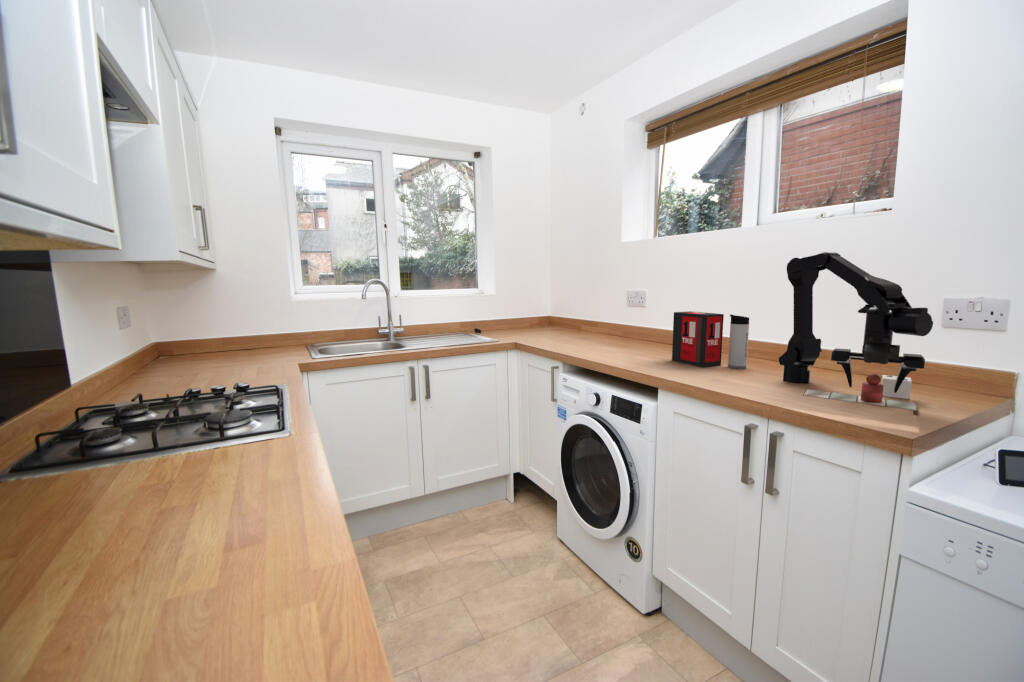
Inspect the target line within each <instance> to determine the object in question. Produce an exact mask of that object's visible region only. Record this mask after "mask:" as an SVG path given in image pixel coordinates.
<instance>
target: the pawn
mask: <svg viewBox="0 0 1024 682" xmlns="http://www.w3.org/2000/svg"><path fill="white" fill-rule="evenodd" d="M865 380H866V381H864V382H862V383H861V393H860V396H861V400H862V401H865V402H871V403H881V402H882V399H883V397H884V396H883V387H884V385H882V383H881V382H882V377H880V375H879V374H876V373H870V374H868V375H867V376H866V378H865Z"/></svg>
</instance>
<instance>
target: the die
mask: <svg viewBox="0 0 1024 682" xmlns="http://www.w3.org/2000/svg"><path fill="white" fill-rule="evenodd" d="M897 376H898V375H887V374H882V375H881V384H882V385H884V387H883V396H882V397H889V398H896V399H897V398H898V399H903V400H910V399H911V391H912V385H913V381H912V377H910V376H909V377H908V376H906V377H905V379H904V380H903V382H902V384H901V385H900V387H899V389H898V391H897V392H896V393H894V387H895V383H896V379H897Z"/></svg>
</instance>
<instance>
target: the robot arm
mask: <svg viewBox="0 0 1024 682" xmlns="http://www.w3.org/2000/svg"><path fill="white" fill-rule="evenodd" d="M824 270H828V271H830V272H831V273H833V274H834V275H835V276H837V277H838V278H839V279H841V280H843V281H845V282H846V283H847V284H849V285H850V286H851V287H853V288H854V289H855V290H856V293H857V295H858V296H859V298H860V299H862V301H863V302H864V303H866V304H865V305H864V306H863V307H861V308H860V309H858V310H857V313H858V314H865V324H864V325H865V326H864V334H863V344H862V349H861V350H862V351H861V352H852V351H851V348H849V349H848V348H838V347H837V348H834V349H833V350H832V351H831V356H830V357H831V358H830V359H831V360H830V361H832V362H836V365H841V366H842V368H843V371H844V372H845V376H846V379H847V383H848V386H849V388H852V386H853V373H852V372H853V371H852V360H854V361H855V360H856V361H863V362H864V363H867V364H871V363H874V364H880V365H887V364H888V363H892V364H893V363H894V364H900V365H899V369H898V372H897V375H896V376H897V379H896V383H895V387H894V393H896V392H897V391H898V389H899V387H900V385H901V384H902V382H903V380H904V379H905V377H908V375H909V374H910V373H911V372H917V369H920V370H921V369H925V364H926V359H925V357H924V356H923V355H922V354H916V353H903V355H902V356H901V355H900V351H901V345H899V344H893V337H894V335H893V334H899V335H907V336H917V337H925V336H927V335H929V334H930V332H931V331H932V329H933V326H934V321H933V319H932V316H931V314H930V313H929V312H928V311H929V308H928V307H912V305H911V304H910V303H909V301H908V300H907V298H906V297H905V295H904V294H903V288H902V286H901V285H900V284H898V283H895V282H893V281H890V280H887V279H885V278H882V277H876V276H874V275H872V274H870V273H869V272H866V271H865V270H863V269H862V268H860V267H859V266H858V265H856V264H854V263H852V262H851V261H849V260H848V259H846V258H845V257H843V256H841V254H840V253H838V252H836V251H823V252H821V253H818V254H814V255H809V256H803V257H793V258H791V259H790V260H789V261H788V262H787V264H786V273H787V279H788V281H789V282H790V284H791V287H792V288H793V334H792V335H791V337H790V338H789V340H788V342H787V348H786V350H785V352H783V354H782V355H780V356H779V357H778V363H779V366H783V378H782V382H787V383H792V384H809V383H810V382H811V370H810V369H809V366H814V365H815V364H816V360H817V359H819V357H820V355H821V354H820V353H822V346H821V345H822V339H821V338H816V336H815V335H814V330H813V329H814V328H813V326H814V325H813V322H814V321H813V320H814V319H813V318H814V317H813V316H814V314H813V309H814V308H813V302H814V301H813V300H814V297H813V293H814V289H813V287H814V285H815V284H816V281H817V280H818V279H819V274H820V272H821V271H824Z"/></svg>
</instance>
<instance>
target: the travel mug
mask: <svg viewBox="0 0 1024 682" xmlns="http://www.w3.org/2000/svg"><path fill="white" fill-rule="evenodd" d="M729 317H730V325H729V341H728V342H729V344H728V361H727V367H728V368H730V369H734V370H745V369H747V364H748V363H747V361H748V351H749V350H748V348H749V347H748V345H749V333H750V331H749V330H750V317H747V316H744V315H735V314H729Z"/></svg>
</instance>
